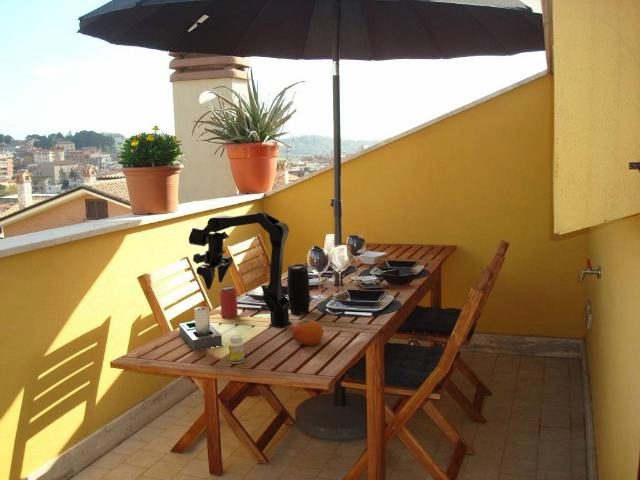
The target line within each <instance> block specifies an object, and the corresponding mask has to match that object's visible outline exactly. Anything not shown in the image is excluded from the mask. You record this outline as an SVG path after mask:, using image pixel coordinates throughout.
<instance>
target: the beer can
mask: <svg viewBox="0 0 640 480" xmlns="http://www.w3.org/2000/svg"><path fill="white" fill-rule="evenodd" d="M237 297H238V296H237V290H236V288H235V286H232V285H226V286H222V287H221V288H220V292H219V298H220V300H219V301H220V302H219V303H220V312H221V313H220V315H221V317H222V318H224V319H232V318H235V317H237V316H238V314H239V313H238V300H237V299H238V298H237Z"/></svg>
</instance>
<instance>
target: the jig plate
mask: <svg viewBox="0 0 640 480" xmlns="http://www.w3.org/2000/svg"><path fill="white" fill-rule="evenodd" d="M178 326H179V327H178V329H179V335H180V336H181V338H182V339H183V340H184V341H185V343H187V345H188V344H189V345H190V346H191V347H192V348H191V347H190V346H189V347H190V348H191V350H192V351H193V350H199V351H202V350H201V349H204V350H207V349H206V348H210V349H212V348H211V347H215V348H217V347H216V346H221V347H223V339H222V334H221V333H220V332H219V331H218V330H217V329H216V328H215V327H214V326H212V325H211V324H210V335H207V336H201V337H196V327H195V320H194V321H188V322H181V323H179V324H178Z"/></svg>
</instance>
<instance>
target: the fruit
mask: <svg viewBox="0 0 640 480" xmlns="http://www.w3.org/2000/svg"><path fill="white" fill-rule="evenodd" d="M323 330H324V329H323V327H322V325H321V324H320V322H318V321H316V320H314V319H305V320H300V321H298V322H297V323H295V325H294V326H293V328H292V337H293V339H294V340H295V342H297V343H298V344H299V345H304V346H314V345H316V344H318V343H320V341H321V340H322V339H323V336H324V331H323Z"/></svg>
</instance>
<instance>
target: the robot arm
mask: <svg viewBox="0 0 640 480" xmlns="http://www.w3.org/2000/svg"><path fill="white" fill-rule="evenodd" d="M253 224H259V225H260V226H261V227H262V229H263V230H264V231H265V232H267V233H268V235H269V237H268V238H269V242H270V245H271V255H270V256H271V257H270V268H269V269H270V270H269V283H268V284H267V285H266V286H264V287H263V295H262V299H263V300H264V301H263V302H264V304H265V305H266V306H267V307H268V310H269V312H270V313H269V315H270V323H269V325H268V326H271V327H276V328H281V329H282V328H285V327H287V326H289V325H291V324H292V321H290V313H289V312H290V308H288V307H289V304H290V301H289V300H288V297H286V296H285V293H284V286H283V283H282V278H283V277H282V276H283V275H282V274H283V263H284V262H283V261H284V247H285V244H286V242H287V239H288V236H289V231H290V227H289V226H288V224H286V223H285V222H283V221H280V220H279V219H278V218H275V217H273V216H272V215H270V214H269V213H268V212H266V211H260V212H255V213H253V212H252V213H248V214H239V215H234V216H232V215H231V216H229V215H216V216H213V217H210V218H209V219H208V221H207V224H206V226H204V228H199V227H195V226H194V227H192V228H191V232H190V234H189V236H188V243H189V244H190V245H191V246H200V247H205V246H207V245H208V246H207V247H208V249H206V250H205V252H201V253H194V254H193V257H192V261H193V262H194V263H195V264H196V265H198V264H200V266H197V267H196V274H197V275H199V276H201V277H202V278H203V280H204V283H205V284H204V285H205V287H206V289H207V290H209V291H210V290H211V287H212V285H213V283H214V280H215V276H216V274H215V273H216V269H217V277H218V282H219V283H221V284H222V282H223V280H224V279H225V276H226V275H227V273H228V271H229V270H230V268H231V267H232V265H233V263H234V262H233V261H234V259H233V257H232V256H229V255H224V254H225V253H226V249H224V240H226V239H228V238H229V237H230V236H229V234H227V232H226V231H224V230H225V229H226V230H227V229H229V228H232V227H238V226H246V225H253ZM221 231H222V232H221ZM201 263H203V264H201Z"/></svg>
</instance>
